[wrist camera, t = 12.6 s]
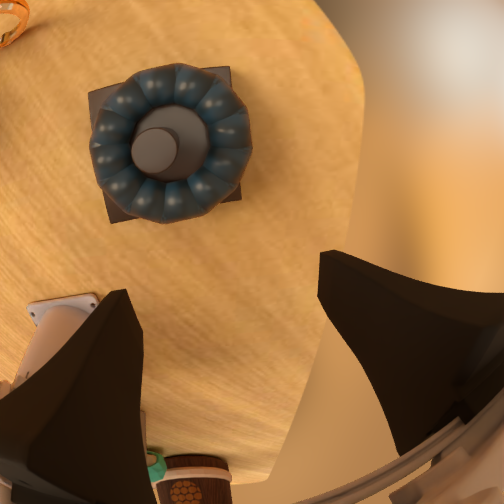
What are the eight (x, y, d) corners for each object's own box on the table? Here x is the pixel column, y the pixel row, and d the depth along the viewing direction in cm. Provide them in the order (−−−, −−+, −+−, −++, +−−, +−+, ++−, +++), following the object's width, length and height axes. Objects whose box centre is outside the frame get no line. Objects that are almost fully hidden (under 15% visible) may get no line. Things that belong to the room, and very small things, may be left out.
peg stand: (238, 195, 19) (265, 231, 13) (114, 218, 17) (86, 264, 11) (227, 69, 15) (251, 40, 9) (93, 94, 13) (49, 82, 7)
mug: (215, 447, 35) (235, 526, 22) (236, 468, 43) (253, 527, 30) (113, 458, 33) (117, 528, 20) (150, 479, 40) (158, 535, 27)
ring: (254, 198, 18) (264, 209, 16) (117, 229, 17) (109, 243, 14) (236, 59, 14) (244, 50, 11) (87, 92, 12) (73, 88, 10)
